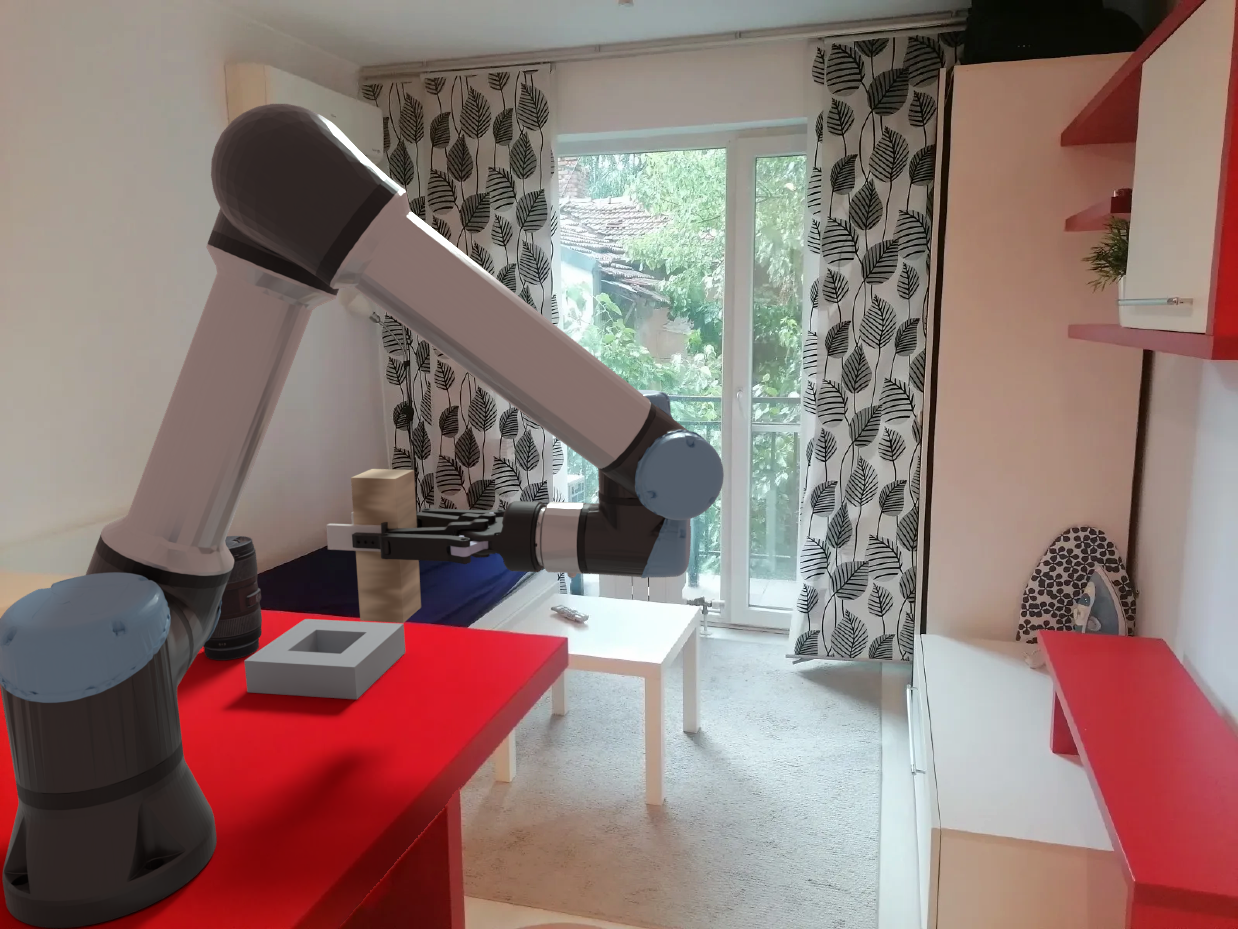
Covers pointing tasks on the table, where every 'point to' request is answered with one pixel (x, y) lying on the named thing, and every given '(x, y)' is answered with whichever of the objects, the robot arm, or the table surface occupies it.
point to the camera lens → (238, 606)
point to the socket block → (325, 659)
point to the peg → (381, 582)
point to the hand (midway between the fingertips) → (341, 529)
